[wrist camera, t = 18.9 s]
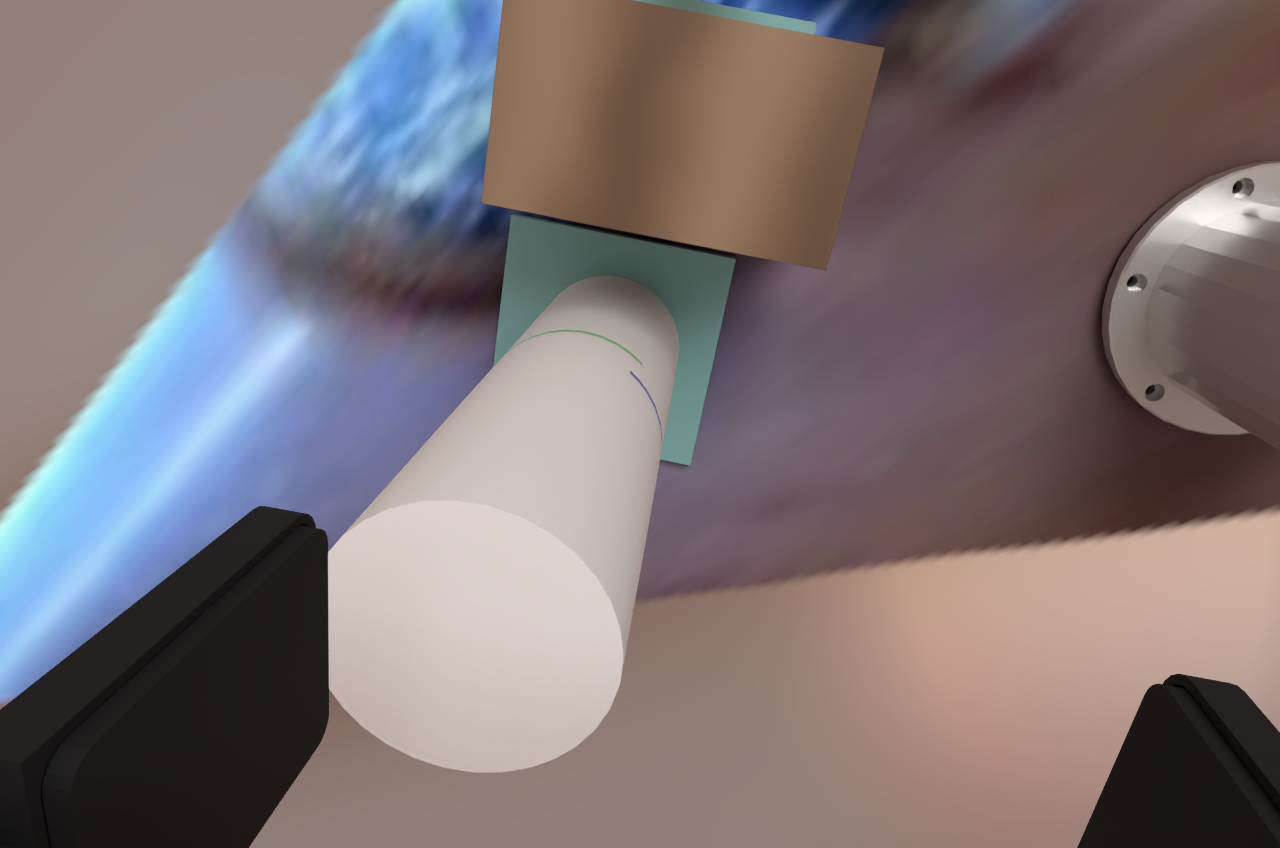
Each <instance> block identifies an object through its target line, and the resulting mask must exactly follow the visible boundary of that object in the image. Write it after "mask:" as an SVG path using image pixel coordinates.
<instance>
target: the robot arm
mask: <svg viewBox="0 0 1280 848" xmlns="http://www.w3.org/2000/svg"><path fill="white" fill-rule="evenodd" d="M1235 183H1236V184H1237V186H1236V189H1235V190H1234V191H1233V192H1232V189H1233V186H1234V184H1235ZM1131 276H1133V281H1132V282H1131V283H1130V284H1129V285H1127V281H1128V280H1129V278H1130V277H1131ZM1102 338H1103V343H1104V349H1105V354H1106V357H1107V360H1108V362H1109V364H1110V367H1111V369H1112V371H1113V374H1114V376H1115V377H1116V379H1117V380H1118V381H1119V383H1120V384H1121V386H1122V387H1123V388H1124V390H1125V391H1126V392H1127V394H1128V395H1129V396H1131V397H1132V398H1133V399H1134V400H1135V401H1136V402H1138V403H1139V404H1140V405H1141V406H1142V407H1143V408H1145V409H1146V410H1148V411H1149V412H1151V413H1152V414H1154V415H1155V416H1157V417H1159V418H1160V419H1161V420H1163V421H1165V422H1168V423H1170V424H1173V425H1175V426H1177V427H1180V428H1182V429H1185V430H1189V431H1194V432H1199V433H1204V434H1209V435H1242V434H1249V433H1251V434H1253V435H1254V436H1256V437H1258V438H1259V439H1261V440H1263V441H1264V442H1266V443H1268V444H1269V445H1271V446H1272V447H1274V448H1276V449H1277V450H1279V451H1280V161H1264V162H1259V163H1254V164H1248V165H1243V166H1238V167H1234V168H1232V169H1229V170H1226V171H1224V172H1221V173H1218V174H1215V175H1213V176H1210V177H1207V178H1206V179H1204V180H1202V181H1200V182H1198V183H1197V184H1195V185H1193V186H1191V187H1189V188H1188V189H1186V190H1184V191H1182V192H1181V193H1179V194H1178V195H1177V196H1175V197H1174V198H1173V199H1172V200H1170V201H1169V202H1168V203H1166V204H1165V205H1164V206H1163V207H1161V208H1160V209H1159V210H1158V211H1156V212H1155V213H1154V214H1153V215H1152V217H1151V218H1150V219H1149V220H1148V221H1147V222H1146V223H1145V224H1144V225H1143V226H1142V227H1141V228H1140V229H1139V231H1138V232H1137V233H1136V234H1135V235H1134V237H1133V238H1132V240H1131V241H1130V243H1129V244H1128V246H1127V247H1126V249H1125V250H1124V252H1123V253H1122V255H1121V256H1120V258H1119V260H1118V262H1117V265H1116V267H1115V269H1114V271H1113V274H1112V276H1111V278H1110V280H1109V283H1108V287H1107V291H1106V295H1105V299H1104V303H1103V308H1102ZM1149 386H1151V387H1150V388H1149V390H1147V391H1146V389H1147V388H1148V387H1149ZM328 717H329V638H328V540H327V535H326V532H325V531H324V530H322V529H317V528H316V526H315V522H314V520H313V518H312V517H311V516H310V515H309V514H304V513H299V512H294V511H288V510H283V509H277V508H272V507H266V506H259V507H257V508H255V509H253V510H252V511H251V512H249V513H248V514H247V515H246V516H244V517H243V518H242V519H241V520H239V521H238V522H237V523H236V524H234V525H233V526H232V527H231V528H229V529H228V530H227V531H225V532H224V533H223V534H222V535H220V536H219V537H218V538H217V539H215V540H214V541H213V542H212V543H210V544H209V545H208V546H207V547H205V548H204V549H203V550H201V551H200V552H199V553H198V554H196V555H195V556H194V557H193V558H191V559H190V560H189V561H188V562H186V563H185V564H184V565H183V566H181V567H180V568H179V569H177V570H176V571H175V572H174V573H172V574H171V575H170V576H169V577H167V578H166V579H165V580H164V581H162V582H161V583H160V584H159V585H157V586H156V587H155V588H154V589H152V590H151V591H150V592H148V593H147V594H146V595H145V596H143V597H142V598H141V599H140V600H138V601H137V602H136V603H135V604H133V605H132V606H131V607H130V608H128V609H127V610H126V611H124V612H123V613H122V614H121V615H119V616H118V617H117V618H116V619H114V620H113V621H112V622H111V623H109V624H108V625H107V626H106V627H104V628H103V629H102V630H101V631H99V632H98V633H97V634H95V635H94V636H93V637H92V638H90V639H89V640H88V641H87V642H85V643H84V644H83V645H82V646H80V647H79V648H78V649H77V650H75V651H74V652H73V653H71V654H70V655H69V656H68V657H66V658H65V659H64V660H63V661H61V662H60V663H59V664H58V665H56V666H55V667H54V668H53V669H51V670H50V671H49V672H47V673H46V674H45V675H44V676H42V677H41V678H40V679H39V680H37V681H36V682H35V683H34V684H32V685H31V686H30V687H29V688H27V689H26V690H25V691H24V692H22V693H21V694H20V695H18V696H17V697H16V698H15V699H13V700H12V701H11V702H10V703H8V704H7V705H6V706H5V707H3V708H2V709H1V710H0V848H249V846H250V845H251V843H252V842H253V840H254V839H255V837H256V836H257V835H258V833H259V832H260V830H261V829H262V827H263V826H264V824H265V823H266V822H267V820H268V819H269V817H270V816H271V814H272V813H273V811H274V810H275V808H276V807H277V805H278V804H279V802H280V801H281V800H282V798H283V797H284V795H285V794H286V792H287V791H288V789H289V788H290V786H291V785H292V784H293V782H294V781H295V779H296V778H297V776H298V775H299V773H300V772H301V770H302V769H303V768H304V766H305V765H306V763H307V762H308V760H309V759H310V757H311V756H312V754H313V753H314V752H315V750H316V748H317V747H318V745H319V744H320V742H321V740H322V738H323V735H324V733H325V730H326V727H327V722H328ZM1077 848H1280V732H1279V731H1278V730H1277V729H1276V728H1275V727H1274V725H1273V724H1272V723H1271V722H1270V721H1269V720H1268V718H1267V717H1266V716H1265V715H1264V714H1263V713H1262V711H1261V710H1260V709H1259V708H1258V707H1257V706H1256V704H1255V703H1254V702H1253V701H1252V700H1251V699H1250V697H1249V696H1248V695H1247V694H1246V693H1245V692H1244V691H1243V690H1242V689H1241V688H1240V687H1238V686H1237V685H1233V684H1230V683H1226V682H1220V681H1215V680H1209V679H1203V678H1199V677H1193V676H1187V675H1182V674H1175V675H1171V676H1170V677H1169V678H1167V679H1166V680H1165V681H1164V683H1163V684H1155V685H1152V686H1151V687H1150V688H1149V689H1148V690H1147V692H1146V693H1145V695H1144V698H1143V700H1142V702H1141V705H1140V707H1139V709H1138V711H1137V713H1136V716H1135V718H1134V720H1133V722H1132V725H1131V727H1130V729H1129V732H1128V734H1127V736H1126V738H1125V741H1124V743H1123V745H1122V747H1121V750H1120V752H1119V754H1118V757H1117V759H1116V761H1115V763H1114V766H1113V768H1112V770H1111V773H1110V775H1109V777H1108V780H1107V782H1106V784H1105V786H1104V788H1103V791H1102V793H1101V795H1100V798H1099V800H1098V802H1097V804H1096V807H1095V809H1094V811H1093V814H1092V816H1091V818H1090V820H1089V823H1088V825H1087V827H1086V829H1085V832H1084V834H1083V836H1082V838H1081V841H1080V843H1079V845H1078V847H1077Z"/></svg>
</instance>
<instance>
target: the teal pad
mask: <svg viewBox="0 0 1280 848" xmlns="http://www.w3.org/2000/svg"><path fill="white" fill-rule="evenodd" d="M735 261H736V257H733V256H728V255H723V254H718V253H712V252H707V251H702V250H697V249H692V248H687V247H682V246H677V245H672V244H667V243H662V242H657V241H651V240H646V239H641V238H636V237H631V236H626V235H621V234H616V233H611V232H606V231H601V230H595V229H590V228H585V227H580V226H575V225H570V224H565V223H560V222H555V221H550V220H545V219H540V218H534V217H529V216H524V215H519V214H512V215H511V221H510V229H509V237H508V246H507V254H506V263H505V271H504V279H503V288H502V296H501V305H500V313H499V322H498V330H497V338H496V347H495V355H494V364H493V367H494V366H495V365H496V364H497V363H498V361H499V360H500V359H501V358H502V357H503V356H504V355H505V354H506V353H507V351H508V350H509V349H510V348H511V347H512V346H513V345H514V344H515V343H516V341H517V340H518V339H519V338H520V337H521V336H522V335H523V334H524V332H525V331H526V330H527V329H528V328H529V327H530V326H531V325H532V324H533V322H534V321H535V320H536V319H537V318H538V317H539V316H540V315H541V313H542V312H543V311H544V310H545V309H546V308H547V307H548V306H549V304H550V303H551V302H552V301H553V300H554V299H555V298H556V297H557V296H558V294H560V293H561V292H562V291H563V290H565V289H566V288H567V287H569V286H570V285H572V284H574V283H576V282H578V281H580V280H583V279H587V278H590V277H594V276H616V277H623V278H626V279H629V280H632V281H635V282H638V283H639V284H641V285H643V286H644V287H646V288H648V289H649V290H651V291H652V292H653V293H654V294H655V295H656V296H657V297H658V298H660V299H661V301H662V302H663V303H664V305H665V306H666V307H667V308H668V310H669V312H670V314H671V316H672V318H673V320H674V322H675V325H676V328H677V332H678V337H679V355H678V363H677V368H676V374H675V380H674V385H673V391H672V397H671V402H670V408H669V413H668V419H667V424H666V430H665V436H664V441H663V447H662V452H661V458H660V460H665V461H670V462H675V463H680V464H685V465H691V460H692V456H693V451H694V446H695V442H696V437H697V433H698V428H699V424H700V419H701V415H702V410H703V406H704V401H705V397H706V392H707V388H708V383H709V379H710V374H711V370H712V365H713V361H714V356H715V351H716V347H717V342H718V338H719V333H720V329H721V324H722V320H723V315H724V311H725V306H726V302H727V297H728V293H729V288H730V284H731V279H732V275H733V270H734V266H735Z"/></svg>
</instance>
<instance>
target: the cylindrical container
mask: <svg viewBox="0 0 1280 848" xmlns="http://www.w3.org/2000/svg"><path fill="white" fill-rule="evenodd" d="M678 355H679V337H678V332H677V328H676V325H675V322H674V320H673V318H672V316H671V314H670V312H669V310H668V308H667V307H666V306H665V305H664V303H663V302H662V301H661V299H660V298H658V297H657V296H656V295H655V294H654V293H653V292H652V291H651V290H649V289H648V288H646V287H644V286H643V285H641V284H639V283H638V282H635V281H632V280H629V279H626V278H623V277H616V276H594V277H590V278H587V279H583V280H580V281H578V282H576V283H574V284H572V285H570V286H569V287H567V288H566V289H565V290H563V291H562V292H561V293H560V294H558V296H557V297H556V298H555V299H554V300H553V301H552V302H551V303H550V304H549V306H548V307H547V308H546V309H545V310H544V311H543V312H542V313H541V315H540V316H539V317H538V318H537V319H536V320H535V321H534V322H533V324H532V325H531V326H530V327H529V328H528V329H527V330H526V331H525V332H524V334H523V335H522V336H521V337H520V338H519V339H518V340H517V341H516V343H515V344H514V345H513V346H512V347H511V348H510V349H509V350H508V351H507V353H506V354H505V355H504V356H503V357H502V358H501V359H500V360H499V361H498V363H497V364H496V365H495V366H494V367H493V368H492V369H491V370H490V371H489V372H488V373H487V375H486V376H485V377H484V378H483V379H482V380H481V381H480V382H479V384H478V385H477V386H476V387H475V388H474V389H473V390H472V391H471V393H470V394H469V395H468V396H467V397H466V398H465V399H464V400H463V401H462V403H461V404H460V405H459V406H458V407H457V408H456V409H455V410H454V412H453V413H452V414H451V415H450V416H449V417H448V418H447V419H446V420H445V422H444V423H443V424H442V425H441V426H440V427H439V428H438V429H437V431H436V432H435V433H434V434H433V435H432V436H431V437H430V438H429V439H428V441H427V442H426V443H425V444H424V445H423V446H422V447H421V448H420V450H419V451H418V452H417V453H416V454H415V455H414V456H413V457H412V459H411V460H410V461H409V462H408V463H407V464H406V465H405V466H404V467H403V469H402V470H401V471H400V472H399V473H398V474H397V475H396V476H395V478H394V479H393V480H392V481H391V482H390V483H389V484H388V485H387V486H386V488H385V489H384V490H383V491H382V492H381V493H380V494H379V495H378V497H377V498H376V499H375V500H374V501H373V502H372V503H371V504H370V506H369V507H368V508H367V509H366V510H365V511H364V512H363V513H362V514H361V516H360V517H359V518H358V519H357V520H356V521H355V522H354V523H353V525H352V526H351V527H350V528H349V529H348V530H347V531H346V532H345V533H344V535H343V536H342V537H341V538H340V539H339V540H338V542H337V543H336V544H335V545H334V546H333V547H332V549H331V550H330V551H329V552H328V638H329V689H330V691H331V692H332V693H333V695H334V696H335V697H336V699H337V700H338V702H339V703H340V704H341V706H342V707H343V708H344V709H345V710H346V711H347V712H348V713H349V714H350V715H351V716H352V717H353V718H354V719H355V720H356V721H357V722H358V723H359V724H360V725H361V726H362V727H363V728H365V729H366V730H368V731H369V732H370V733H372V734H373V735H375V736H376V737H377V738H379V739H380V740H381V741H383V742H384V743H386V744H388V745H389V746H391V747H393V748H395V749H397V750H399V751H401V752H403V753H405V754H407V755H409V756H411V757H413V758H416V759H419V760H422V761H425V762H428V763H431V764H434V765H437V766H440V767H444V768H449V769H456V770H462V771H468V772H508V771H513V770H519V769H525V768H531V767H533V766H536V765H539V764H541V763H545V762H547V761H551V760H553V759H555V758H557V757H559V756H561V755H562V754H564V753H566V752H567V751H569V750H571V749H573V748H575V747H576V746H577V745H578V744H579V743H580V742H582V741H583V740H584V739H585V738H586V737H587V736H589V735H590V734H591V733H592V732H593V731H594V730H595V729H596V728H597V726H598V725H599V724H600V722H601V720H602V719H603V718H604V717H605V715H606V714H607V713H608V711H609V710H610V708H611V705H612V703H613V700H614V698H615V695H616V693H617V690H618V688H619V685H620V682H621V676H622V670H623V665H624V659H625V654H626V648H627V643H628V637H629V631H630V626H631V620H632V614H633V609H634V604H635V598H636V592H637V587H638V581H639V576H640V570H641V564H642V559H643V553H644V548H645V542H646V537H647V531H648V525H649V520H650V514H651V508H652V503H653V497H654V492H655V486H656V480H657V475H658V469H659V463H660V458H661V452H662V447H663V441H664V436H665V430H666V424H667V419H668V413H669V408H670V402H671V397H672V391H673V385H674V380H675V374H676V368H677V363H678Z"/></svg>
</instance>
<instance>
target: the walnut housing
mask: <svg viewBox="0 0 1280 848" xmlns="http://www.w3.org/2000/svg"><path fill="white" fill-rule="evenodd" d="M816 26H817V23H815V22H809V21H804V20H799V19H793V18H788V17H783V16H778V15H772V14H767V13H762V12H756V11H751V10H746V9H741V8H735V7H730V6H725V5H720V4H714V3H709V2H704V1H698V0H503V4H502V14H501V23H500V33H499V42H498V52H497V61H496V71H495V80H494V90H493V99H492V109H491V118H490V128H489V137H488V147H487V156H486V166H485V175H484V185H483V194H482V203H484V204H489V205H494V206H499V207H505V208H510V209H515V210H520V211H525V212H530V213H535V214H540V215H545V216H550V217H552V218H557V219H562V220H567V221H572V222H577V223H583V224H588V225H593V226H598V227H603V228H608V229H613V230H618V231H623V232H628V233H633V234H639V235H644V236H649V237H654V238H659V239H664V240H669V241H674V242H679V243H684V244H689V245H695V246H700V247H705V248H710V249H715V250H720V251H725V252H730V253H735V254H740V255H745V256H751V257H756V258H761V259H762V258H764V259H769V260H774V261H779V262H784V263H790V264H795V265H800V266H805V267H810V268H815V269H820V270H825V271H826V269H827V266H828V262H829V258H830V254H831V250H832V247H833V243H834V239H835V235H836V231H837V228H838V224H839V220H840V216H841V212H842V209H843V205H844V201H845V197H846V193H847V189H848V186H849V182H850V178H851V174H852V170H853V167H854V163H855V159H856V155H857V151H858V148H859V144H860V140H861V136H862V132H863V129H864V125H865V121H866V117H867V113H868V110H869V106H870V102H871V98H872V94H873V90H874V87H875V83H876V79H877V75H878V71H879V68H880V64H881V60H882V56H883V52H884V49H885V48H882V47H876V46H871V45H866V44H860V43H855V42H850V41H845V40H839V39H834V38H829V37H824V36H818V35H814V34H815V30H816Z"/></svg>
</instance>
